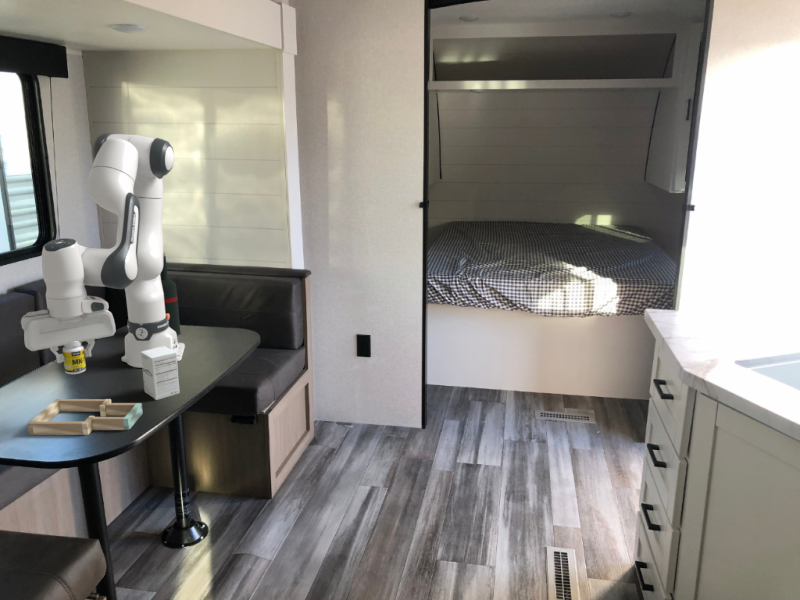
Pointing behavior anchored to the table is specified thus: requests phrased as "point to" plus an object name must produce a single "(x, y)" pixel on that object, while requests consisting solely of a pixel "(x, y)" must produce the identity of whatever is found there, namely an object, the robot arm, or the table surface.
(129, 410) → the keyhole corral
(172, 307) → the wine bottle
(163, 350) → the supplement box
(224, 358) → the table surface
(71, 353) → the supplement bottle
